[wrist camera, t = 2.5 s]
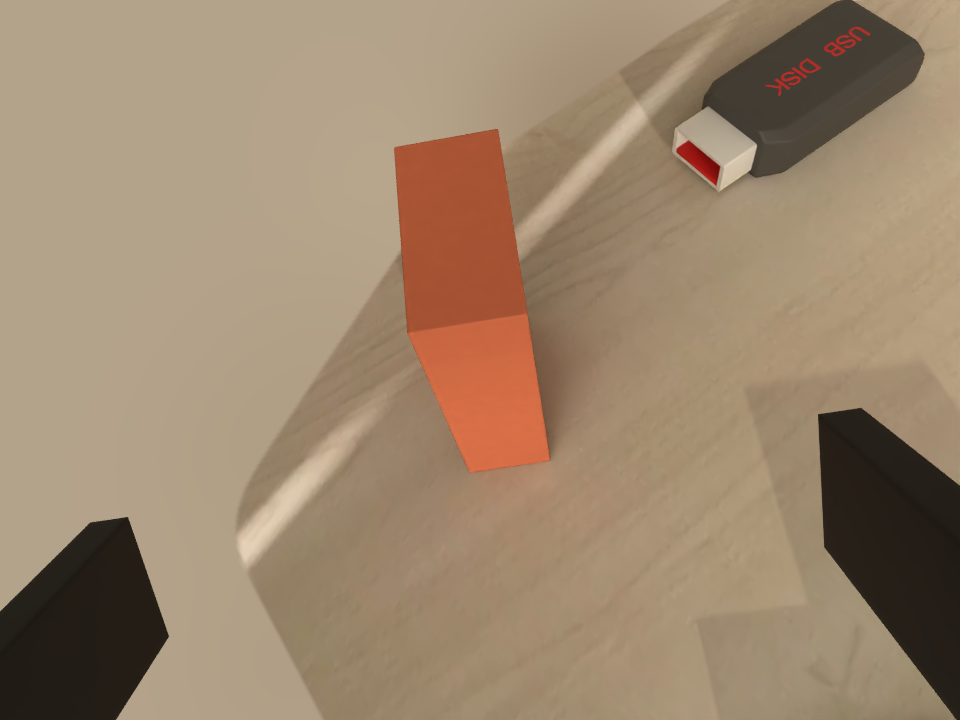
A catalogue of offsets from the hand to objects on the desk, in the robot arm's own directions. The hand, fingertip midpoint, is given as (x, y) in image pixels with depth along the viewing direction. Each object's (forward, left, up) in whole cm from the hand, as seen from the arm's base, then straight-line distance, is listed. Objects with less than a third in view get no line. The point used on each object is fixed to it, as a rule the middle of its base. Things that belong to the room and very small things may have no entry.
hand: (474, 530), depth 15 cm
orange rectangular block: (+5, +9, -16) cm, 19 cm away
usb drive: (+25, +13, -16) cm, 32 cm away
